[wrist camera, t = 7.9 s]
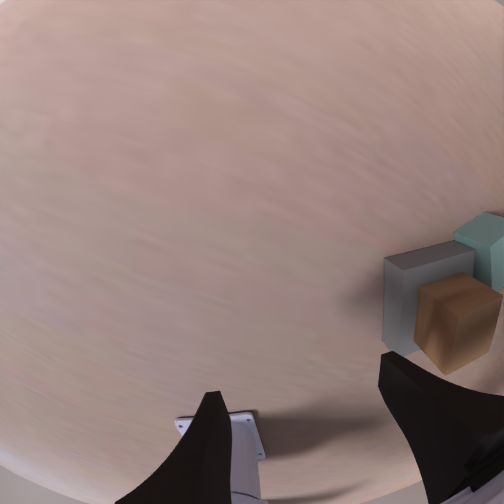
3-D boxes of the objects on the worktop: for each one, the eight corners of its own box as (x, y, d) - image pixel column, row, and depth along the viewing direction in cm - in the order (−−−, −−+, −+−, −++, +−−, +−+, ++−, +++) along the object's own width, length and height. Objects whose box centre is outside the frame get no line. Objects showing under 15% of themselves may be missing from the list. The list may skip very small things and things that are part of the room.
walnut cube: (455, 323, 20) (488, 351, 15) (413, 340, 20) (444, 375, 15) (462, 272, 18) (502, 295, 14) (418, 286, 18) (458, 317, 14)
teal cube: (488, 255, 22) (520, 270, 17) (459, 277, 22) (491, 297, 17) (483, 211, 20) (519, 222, 15) (452, 232, 21) (490, 246, 16)
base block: (447, 316, 23) (463, 330, 20) (382, 340, 23) (396, 358, 20) (454, 240, 21) (475, 249, 18) (383, 257, 21) (402, 270, 18)
